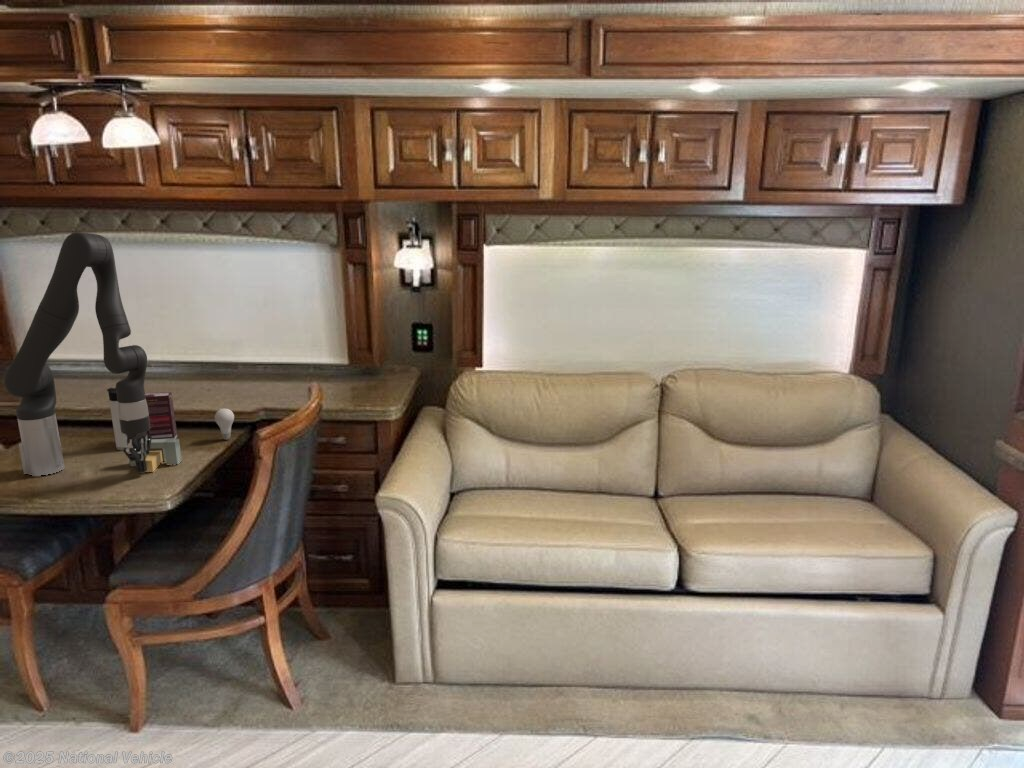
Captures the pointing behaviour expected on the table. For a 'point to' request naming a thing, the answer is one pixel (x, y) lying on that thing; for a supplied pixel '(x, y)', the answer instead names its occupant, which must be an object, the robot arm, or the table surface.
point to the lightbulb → (224, 422)
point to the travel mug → (116, 420)
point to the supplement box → (161, 416)
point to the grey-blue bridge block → (166, 450)
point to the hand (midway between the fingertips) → (142, 471)
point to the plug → (155, 458)
